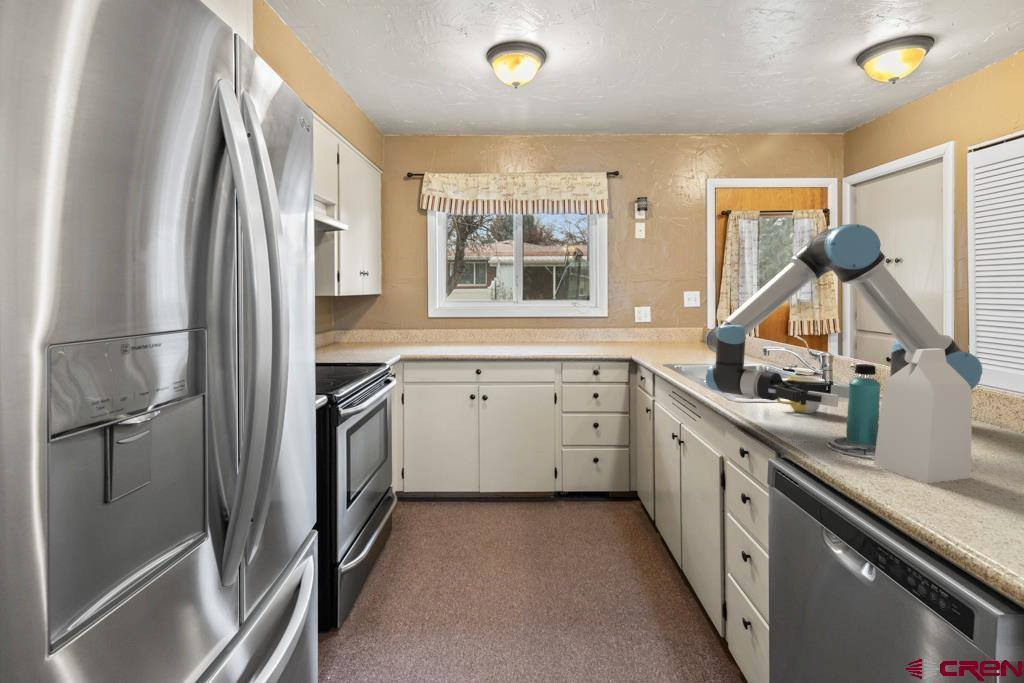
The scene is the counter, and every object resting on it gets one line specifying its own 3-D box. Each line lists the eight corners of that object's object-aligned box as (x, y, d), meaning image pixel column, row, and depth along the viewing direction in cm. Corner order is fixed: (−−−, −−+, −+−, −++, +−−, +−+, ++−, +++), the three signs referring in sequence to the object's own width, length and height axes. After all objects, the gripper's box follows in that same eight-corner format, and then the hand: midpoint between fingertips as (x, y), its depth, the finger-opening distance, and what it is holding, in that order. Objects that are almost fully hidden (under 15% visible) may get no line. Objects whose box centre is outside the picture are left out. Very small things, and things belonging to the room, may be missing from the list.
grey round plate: (856, 439, 138) (856, 434, 138) (911, 455, 125) (912, 450, 125) (813, 444, 134) (813, 439, 134) (866, 461, 120) (866, 455, 120)
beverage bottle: (882, 452, 126) (888, 366, 124) (851, 450, 127) (856, 366, 125) (870, 443, 132) (875, 362, 130) (840, 442, 133) (845, 362, 131)
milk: (926, 483, 107) (937, 353, 104) (873, 465, 118) (882, 347, 115) (970, 477, 110) (982, 351, 108) (914, 460, 121) (924, 345, 119)
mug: (818, 408, 173) (820, 376, 172) (827, 416, 163) (829, 381, 162) (771, 406, 177) (773, 374, 176) (777, 413, 167) (779, 379, 166)
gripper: (783, 393, 155) (867, 405, 138) (737, 404, 139) (826, 420, 123) (784, 367, 154) (869, 376, 138) (739, 375, 139) (828, 387, 122)
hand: (849, 397), depth 130 cm, fingers open, 13 cm apart
